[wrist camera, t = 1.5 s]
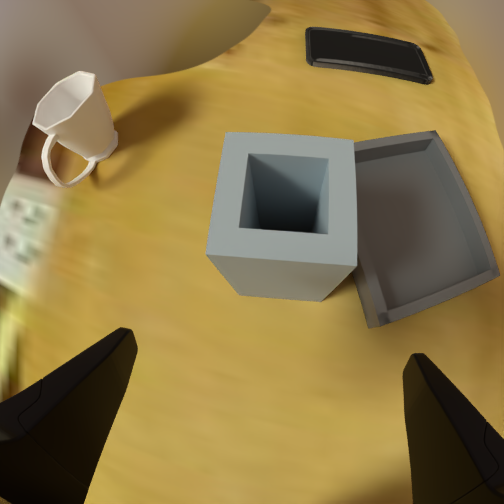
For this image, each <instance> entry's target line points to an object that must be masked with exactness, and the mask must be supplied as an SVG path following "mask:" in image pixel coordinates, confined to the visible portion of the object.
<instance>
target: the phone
mask: <svg viewBox="0 0 504 504" xmlns="http://www.w3.org/2000/svg"><path fill="white" fill-rule="evenodd" d="M305 39H306V61H307V63H308V64H309V65H311V66H314V67H322V68H332V69H341V70H349V71H356V72H363V73H370V74H376V75H382V76H387V77H393V78H398V79H403V80H407V81H412V82H416V83H421V84H426V85H428V84H430V83H431V81H432V78H433V77H432V74H431V71H430V69H429V67H428V64H427V62H426V59H425V57H424V55H423V52H422V50H421V48H420V47H419V46H417V45H416V44H414V43H411V42H407V41H403V40H398V39H394V38H389V37H384V36H379V35H373V34H368V33H362V32H355V31H348V30H340V29H332V28H322V27H309V28H307V29H306V32H305Z"/></svg>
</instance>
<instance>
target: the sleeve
mask: <svg viewBox="0 0 504 504" xmlns="http://www.w3.org/2000/svg"><path fill="white" fill-rule="evenodd" d="M206 256H207V257H208V258H209V259H210V260H211V262H212V263H213V264H214V265H215V267H216V268H217V269H218V270H219V271H220V273H221V274H222V275H223V276H224V278H225V279H226V280H227V281H228V282H229V284H230V285H231V286H232V287H233V288H234V290H235V291H236V292H237V293H238V294H239V295H244V296H254V297H266V298H278V299H290V300H304V301H318V302H321V301H322V300H323V299H324V298H325V297H326V296H327V295H328V294H329V293H330V292H332V291H333V290H334V289H335V288H336V287H337V286H338V285H339V284H340V283H341V282H342V281H343V280H344V279H345V278H346V277H347V276H348V275H349V274H350V273H351V272H352V271H353V270H354V269H355V268H356V267H357V195H356V173H355V156H354V142H353V140H347V139H338V138H328V137H317V136H305V135H291V134H273V133H246V132H226V134H225V139H224V145H223V150H222V156H221V161H220V167H219V173H218V179H217V184H216V190H215V196H214V202H213V209H212V215H211V221H210V228H209V234H208V241H207V247H206Z"/></svg>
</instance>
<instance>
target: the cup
mask: <svg viewBox="0 0 504 504" xmlns="http://www.w3.org/2000/svg"><path fill="white" fill-rule="evenodd" d="M33 125H35V126H36V127H37V128H39V129H40V130H42V131H43V132H45V133H46V134H48V135H49V136H48V138H47V139H46V142H45V144H44V147H43V151H42V163H43V168H44V171H45V172H46V174H47V176H48V177H49V179H50V180H51V181H52V182H53V183H54V184H55V185H56V186H59V187H63V188H70V187H73V186H75V185H77V184H78V183H80V182H81V181H82V180H84V179H85V178H86V177H87V176H88V175H89V174H90V173H91V172H92V171H93V169H94V168H95V166H96V163H97V162H99V161H102V160H104V159H107V158H108V157H109V156H110V155H111V153H112V152H113V151H114V149H115V148H116V147H117V146H118V133H117V131H115V130H114V124H113V121H112V117H111V113H110V110H109V107H108V105H107V102H106V100H105V98H104V95H103V93H102V90H101V87H100V85H99V82H98V80H97V77H96V75H95V74H92V73H87V72H83V71H78V72H76V73H74V74H72V75H71V76H68V77H67V78H64V79H63V80H61V81H59V82H57V83H56V84H55V85H54V86H53V87H52V88H51V89H50V90H49V92H48V93H47V94H46V95H45V96H44V97H43V98H42V100H41V101H40V102H39V103H38V104H37V108H36V112H35V116H34V120H33ZM56 141H57V142H59V143H60V144H62V145H63V146H65V147H66V148H68V149H70V150H72V151H74V152H75V153H77V154H79V155H81V156H83V158H84V159H86V160H88V161H89V164H88V167H87V168H86V169H85V170H84V171H83V172H82V173H81V174H80V175H79V176H77V177H76V178H75V179H73V180H72V181H71V182H69V183H66V184H65V183H62V181H61V180H60V179H59V178H58V177H57V176H56V174H55V172H54V171H53V169H52V166H51V160H50V152H51V149H52V147H53V146H54V144H55V143H56Z"/></svg>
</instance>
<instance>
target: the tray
mask: <svg viewBox="0 0 504 504" xmlns="http://www.w3.org/2000/svg"><path fill="white" fill-rule="evenodd" d="M354 156H355V173H356V195H357V267H356V268H355V269H354V270H353V271H352V274H353V278H354V281H355V284H356V287H357V291H358V294H359V297H360V300H361V304H362V307H363V311H364V314H365V318H366V321H367V325H368V328H374V327H380V326H383V325H385V324H388V323H391V322H394V321H396V320H399V319H402V318H404V317H407V316H410V315H412V314H415V313H417V312H420V311H422V310H425V309H427V308H430V307H432V306H435V305H437V304H439V303H442V302H444V301H446V300H449V299H451V298H453V297H456V296H458V295H460V294H462V293H465V292H467V291H469V290H471V289H473V288H476V287H478V286H480V285H482V284H484V283H486V282H488V281H490V280H492V279H494V278H496V277H498V276H500V273H499V270H498V266H497V263H496V260H495V257H494V254H493V251H492V249H491V246H490V243H489V240H488V238H487V235H486V232H485V230H484V227H483V225H482V222H481V220H480V217H479V215H478V213H477V210H476V208H475V206H474V203H473V201H472V199H471V197H470V195H469V192H468V190H467V188H466V186H465V184H464V182H463V180H462V178H461V176H460V174H459V172H458V170H457V168H456V166H455V164H454V162H453V160H452V158H451V156H450V155H449V153H448V151H447V149H446V147H445V146H444V144H443V142H442V140H441V139H440V137H439V135H438V134H437V132H436V130H434V131H426V132H418V133H411V134H404V135H397V136H391V137H384V138H378V139H372V140H366V141H361V142H355V143H354Z"/></svg>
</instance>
